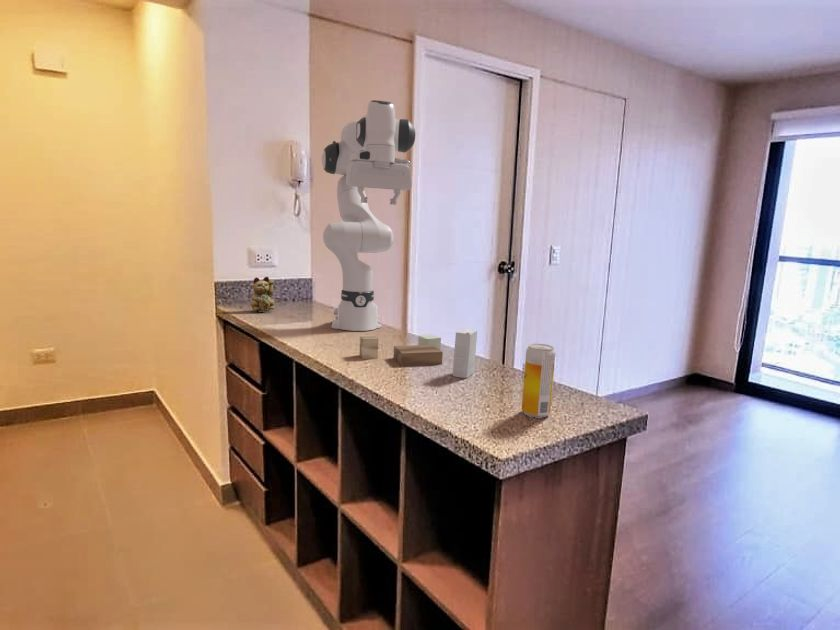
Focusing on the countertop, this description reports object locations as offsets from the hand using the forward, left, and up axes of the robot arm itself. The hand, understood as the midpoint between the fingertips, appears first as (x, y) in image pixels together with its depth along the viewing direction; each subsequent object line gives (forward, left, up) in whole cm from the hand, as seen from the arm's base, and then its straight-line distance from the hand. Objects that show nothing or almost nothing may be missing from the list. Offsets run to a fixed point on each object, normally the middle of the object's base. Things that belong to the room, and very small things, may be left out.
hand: (378, 203), depth 163 cm
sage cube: (+8, +16, -45) cm, 48 cm away
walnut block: (+18, +9, -45) cm, 50 cm away
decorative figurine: (-70, -32, -45) cm, 89 cm away
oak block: (+11, -4, -45) cm, 47 cm away
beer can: (+65, +21, -45) cm, 82 cm away
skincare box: (+34, +17, -45) cm, 59 cm away
